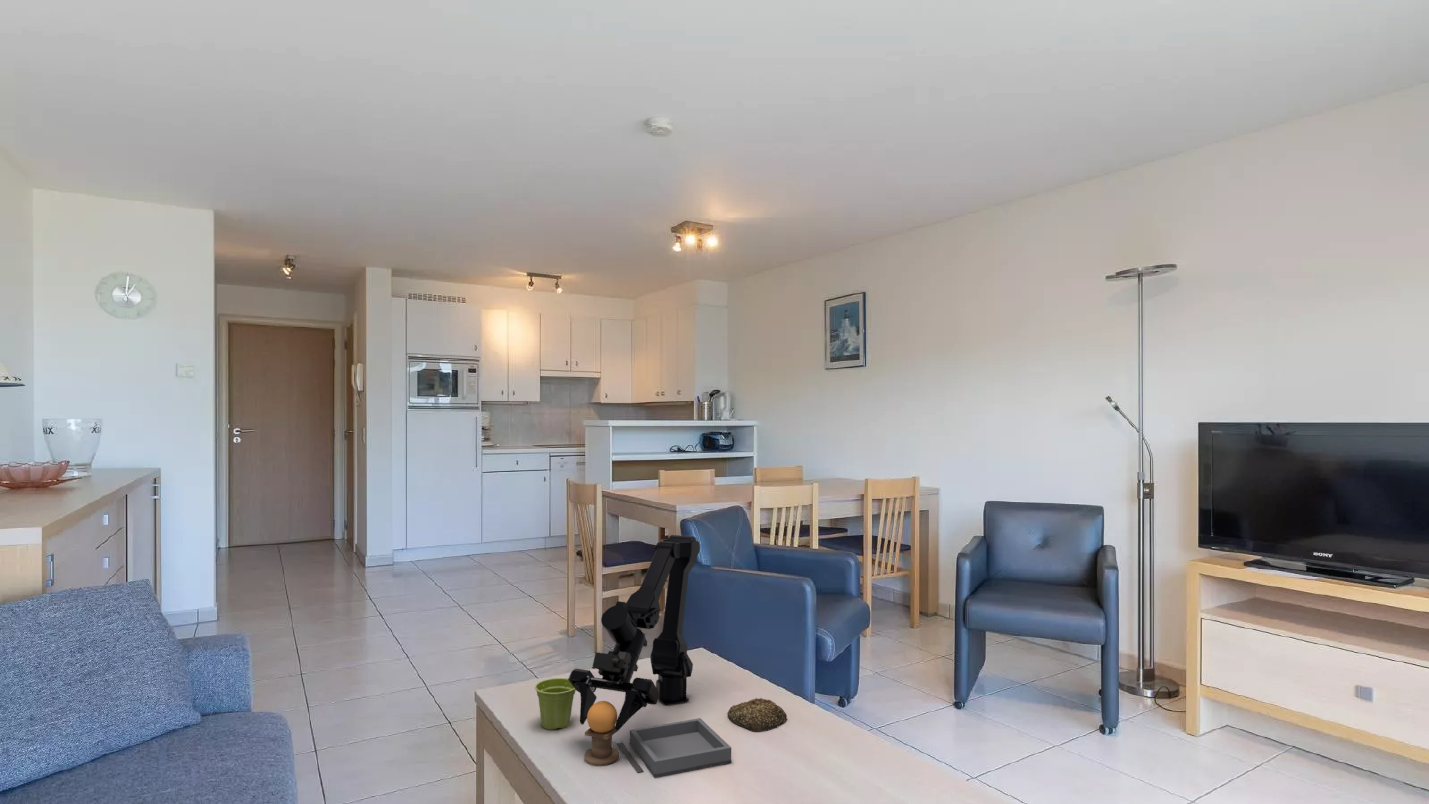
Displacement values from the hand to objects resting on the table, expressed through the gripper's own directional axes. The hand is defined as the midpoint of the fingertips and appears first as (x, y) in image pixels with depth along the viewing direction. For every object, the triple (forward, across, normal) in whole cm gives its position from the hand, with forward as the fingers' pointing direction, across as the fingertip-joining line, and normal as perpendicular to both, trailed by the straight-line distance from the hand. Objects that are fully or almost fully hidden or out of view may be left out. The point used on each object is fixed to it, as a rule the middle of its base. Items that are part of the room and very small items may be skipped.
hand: (598, 726), depth 150 cm
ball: (0, 0, +2) cm, 2 cm away
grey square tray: (-2, +14, +11) cm, 18 cm away
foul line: (+2, +5, +7) cm, 9 cm away
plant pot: (-4, -18, +13) cm, 22 cm away
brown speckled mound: (-18, +23, +28) cm, 40 cm away
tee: (+4, 0, +6) cm, 7 cm away
